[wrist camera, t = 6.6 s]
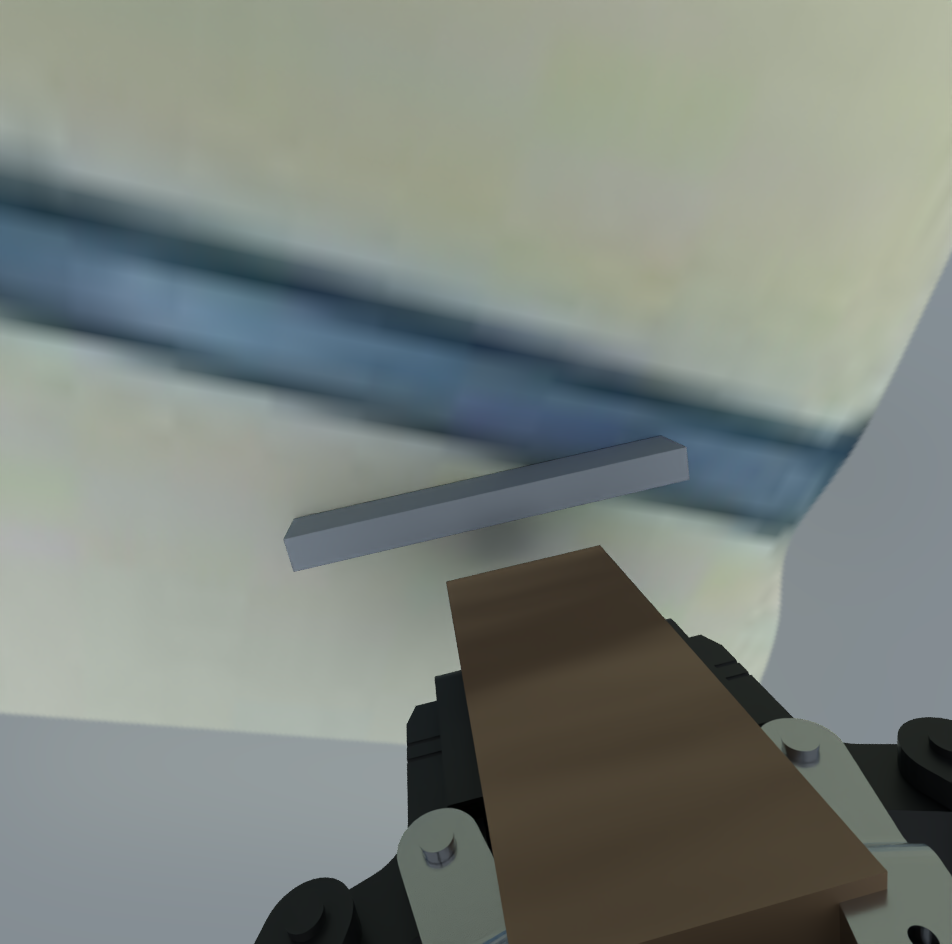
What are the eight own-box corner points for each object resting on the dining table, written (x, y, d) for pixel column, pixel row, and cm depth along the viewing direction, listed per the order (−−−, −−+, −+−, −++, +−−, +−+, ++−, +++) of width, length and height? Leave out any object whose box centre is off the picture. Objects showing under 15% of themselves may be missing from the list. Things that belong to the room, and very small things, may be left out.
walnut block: (446, 581, 14) (517, 996, 6) (599, 545, 15) (900, 885, 6) (476, 714, 15) (577, 1234, 7) (619, 677, 16) (895, 1131, 7)
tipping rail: (294, 518, 21) (283, 539, 19) (660, 435, 22) (686, 447, 20) (303, 548, 21) (293, 572, 19) (664, 465, 22) (689, 479, 20)
